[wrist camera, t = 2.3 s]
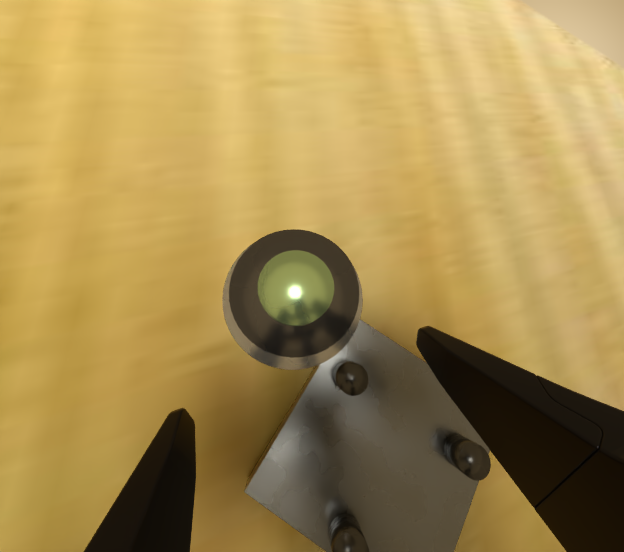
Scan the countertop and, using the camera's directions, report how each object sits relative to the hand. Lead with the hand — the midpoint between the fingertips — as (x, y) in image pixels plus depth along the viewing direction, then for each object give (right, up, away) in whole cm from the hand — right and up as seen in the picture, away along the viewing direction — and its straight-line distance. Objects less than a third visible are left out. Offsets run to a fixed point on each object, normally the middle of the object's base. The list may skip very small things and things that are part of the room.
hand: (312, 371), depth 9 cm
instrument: (-2, 0, +10) cm, 10 cm away
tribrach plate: (+5, -8, +9) cm, 13 cm away
